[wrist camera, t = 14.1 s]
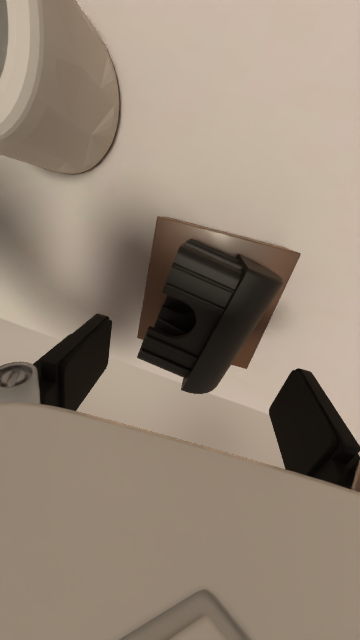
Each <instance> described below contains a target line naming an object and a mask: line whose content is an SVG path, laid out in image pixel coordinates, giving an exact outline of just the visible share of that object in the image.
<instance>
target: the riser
mask: <svg viewBox="0 0 360 640" xmlns="http://www.w3.org/2000/svg"><path fill="white" fill-rule="evenodd" d="M190 239H193V240H195V241H198V242H200V243H202V244H204V245H207V246H209V247H211V248H213V249H216V250H218V251H220V252H222V253H224V254H227V255H229V256H231V257H233V258H235V259H236V257H237V255H238V254H240V255H242V256H244V257H246V258H248V259H250V260H253V261H255V262H257V263H258V264H260V265H262V266H264V267H266V268H268V269H269V270H271V271H273V272H274V273H276V274H277V275H279V276H280V277H281V278H282V279H283V285H282V287H281V288H280V290H279V292H278V293H277V295H276V296H275V298H274V299H273V301H272V302H271V304H270V305H269V307H268V308H267V310H266V311H265V313H264V315H263V316H262V318H261V319H260V321H259V322H258V324H257V325H256V327H255V328H254V330H253V331H252V333H251V334H250V336H249V338H248V339H247V341H246V342H245V344H244V345H243V347H242V348H241V350H240V351H239V353H238V354H237V356H236V357H235V359H234V361H233V362H232V364H231V365H235V366H238V367H242V368H245V369H247V367H248V365H249V363H250V361H251V359H252V357H253V355H254V352H255V350H256V348H257V346H258V344H259V342H260V340H261V338H262V335H263V333H264V331H265V329H266V327H267V325H268V323H269V321H270V318H271V316H272V314H273V312H274V310H275V308H276V306H277V304H278V301H279V299H280V297H281V295H282V293H283V291H284V289H285V287H286V284H287V282H288V280H289V278H290V276H291V274H292V272H293V270H294V267H295V265H296V263H297V261H298V259H299V257H300V253H298V252H295V251H293V250H290V249H287V248H284V247H280V246H276V245H273V244H269V243H265V242H261V241H257V240H254V239H250V238H246V237H242V236H238V235H234V234H231V233H227V232H223V231H219V230H215V229H211V228H208V227H204V226H200V225H196V224H192V223H188V222H185V221H181V220H177V219H173V218H169V217H160V216H158V217H157V222H156V228H155V234H154V240H153V246H152V252H151V258H150V264H149V270H148V276H147V282H146V288H145V294H144V300H143V306H142V312H141V318H140V324H139V330H138V336H137V338H139V339H143V340H144V338H145V335H146V332H147V330H148V328H149V326H151V327H153V328H154V325H155V323H156V320H157V318H158V315H159V313H160V310H161V308H162V305H164V302H165V300H166V297H167V294H165V293H162V290H163V288H164V285H165V283H166V280H167V277H168V275H169V272H170V269H171V267H172V264H173V262H174V259H175V256H176V254H177V251H178V249H179V247H180V245H181V244H183V243H185V242H186V241H187V240H190Z"/></svg>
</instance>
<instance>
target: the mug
mask: <svg viewBox="0 0 360 640" xmlns="http://www.w3.org/2000/svg"><path fill="white" fill-rule="evenodd" d="M118 115H119V93H118V85H117V79H116V74H115V71H114V67H113V64H112V61H111V59H110V56H109V53H108V51H107V49H106V47H105V45H104V43H103V41H102V40H101V38H100V36H99V34H98V32H97V30H96V29H95V27H94V26H93V24H92V23H91V21H90V19H89V18H88V17H87V16H86V15H85V13H84V12H83V11H82V10H81V8H80V6H79V5H78V3H77V2H76V0H0V155H3V156H7V157H10V158H13V159H17V160H20V161H23V162H26V163H30V164H33V165H36V166H39V167H42V168H45V169H49V170H52V171H56V172H61V173H68V174H74V173H80V172H84V171H86V170H89V169H90V168H92V167H93V166H95V165H96V164H97V163H98V162H99V161H100V160H101V159H102V158H103V157H104V155H105V154H106V152H107V151H108V149H109V148H110V145H111V143H112V141H113V138H114V135H115V132H116V128H117V123H118Z"/></svg>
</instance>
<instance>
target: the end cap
mask: <svg viewBox="0 0 360 640" xmlns="http://www.w3.org/2000/svg"><path fill="white" fill-rule="evenodd" d="M282 285H283V279H282V278H281V277H280V276H279V275H277V274H276V273H274V272H273V271H271V270H269V269H268V268H266V267H264V266H262V265H260V264H258V263H257V262H255V261H253V260H250V259H248V258H246V257H244V256H242V255H240V254H238V255H237V257H236V259H235V258H233V257H231V256H229V255H227V254H224V253H222V252H220V251H218V250H216V249H213V248H211V247H209V246H207V245H204V244H202V243H200V242H198V241H195V240H193V239H190V240H187V241H186V242H185V243H183V244H181V245H180V247H179V249H178V251H177V254H176V256H175V259H174V262H173V264H172V267H171V269H170V272H169V275H168V277H167V280H166V283H165V285H164V288H163V290H162V293H165V294H167V297H166V300H165V302H164V305H162V308H161V310H160V313H159V315H158V318H157V320H156V323H155V325H154V328H153V327H151V326H149V328H148V330H147V332H146V335H145V338H144V340H143V343H142V346H141V348H140V351H139V353H138V356H137V358H139V359H141V360H144V361H146V362H148V363H151V364H153V365H156V366H158V367H160V368H163V369H165V370H167V371H170V372H172V373H174V374H177V375H179V376H181V377H184V378H183V383H182V388H181V390H183V391H186V392H189V393H194V394H203V393H208V392H210V391H212V390H213V389H214V388H215V387H216V386H217V385H218V384H219V382H220V380H221V379H222V377H223V376H224V374H225V373H226V371H227V370H228V368H229V367H230V365H231V364H232V362H233V361H234V359H235V357H236V356H237V354H238V353H239V351H240V350H241V348H242V347H243V345H244V344H245V342H246V341H247V339H248V338H249V336H250V334H251V333H252V331H253V330H254V328H255V327H256V325H257V324H258V322H259V321H260V319H261V318H262V316H263V315H264V313H265V311H266V310H267V308H268V307H269V305H270V304H271V302H272V301H273V299H274V298H275V296H276V295H277V293H278V292H279V290H280V288H281V287H282Z"/></svg>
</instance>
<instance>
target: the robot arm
mask: <svg viewBox="0 0 360 640" xmlns="http://www.w3.org/2000/svg"><path fill="white" fill-rule="evenodd" d="M111 328H112V321H111V320H109V317H108V316H104V315H100V314H96V315H94V316H93V317H92V318H91V319H90V320H88V321H87V322H86V323H85V324H84V325H82V326H81V327H80V328H79V329H77V330H76V331H75V332H74V333H73V334H70V335H68V336H67V337H66V338H65V339H63V340H62V341H61V342H60V343H59V344H57V345H56V346H55V347H54V348H53V349H51V350H50V351H49V352H47V353H46V354H45V355H44V356H42V357H41V358H40V359H39V360H38V361H36V362H35V363H34V364H30V363H27V362H13V363H8V364H5V365H2V366H0V640H360V456H359V455H358V452H359V451H360V446H359V444H358V443H357V441H356V440H355V438H354V437H353V435H352V434H351V432H350V431H349V429H348V428H347V426H346V425H345V423H344V421H343V420H342V418H341V417H340V415H339V414H338V412H337V411H336V409H335V408H334V406H333V405H332V403H331V402H330V400H329V398H328V397H327V395H326V394H325V392H324V391H323V389H322V388H321V386H320V385H319V383H318V382H317V380H316V379H315V377H314V375H313V374H312V373H311V372H310V371H306V370H303V369H299V368H298V369H296V370H293V371H292V372H291V373H290V375H289V376H288V378H287V380H286V381H285V383H284V385H283V386H282V388H281V390H280V391H279V393H278V395H277V397H276V398H275V400H274V402H273V403H272V405H271V407H270V409H269V415H270V418H271V422H272V425H273V428H274V432H275V435H276V438H277V442H278V445H279V449H280V452H281V455H282V459H283V462H284V465H285V469H282V468H279V467H275V466H272V465H269V464H265V463H262V462H258V461H255V460H251V459H248V458H244V457H241V456H237V455H234V454H230V453H227V452H223V451H220V450H216V449H212V448H209V447H205V446H202V445H198V444H195V443H191V442H188V441H184V440H180V439H177V438H173V437H170V436H166V435H163V434H159V433H155V432H152V431H148V430H144V429H140V428H137V427H133V426H130V425H126V424H123V423H118V422H115V421H112V420H108V419H104V418H100V417H96V416H92V415H89V414H85V413H81V412H77V411H76V410H77V409H78V407H79V405H80V404H81V403H82V401H83V400H84V399H85V397H86V396H87V394H88V393H89V392H90V390H91V389H92V387H93V386H94V384H95V383H96V382H97V380H98V379H99V377H100V376H101V375H102V373H103V372H104V370H105V369H106V367H107V364H108V358H109V348H110V338H111Z"/></svg>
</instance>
